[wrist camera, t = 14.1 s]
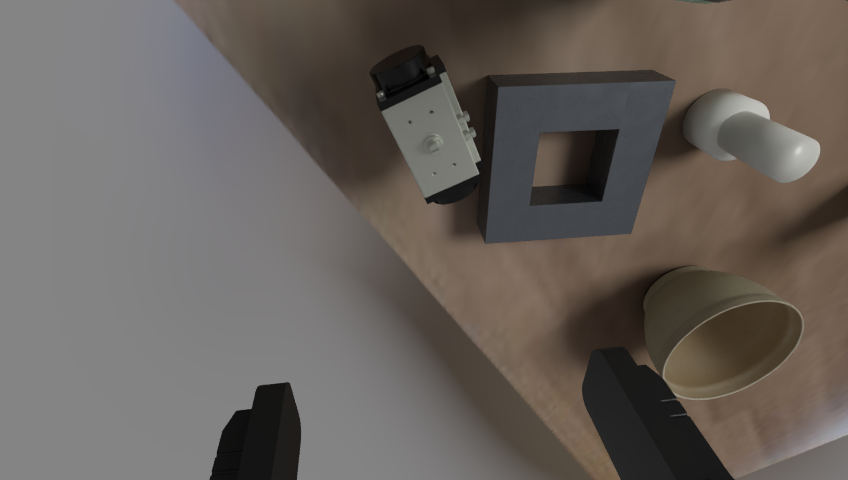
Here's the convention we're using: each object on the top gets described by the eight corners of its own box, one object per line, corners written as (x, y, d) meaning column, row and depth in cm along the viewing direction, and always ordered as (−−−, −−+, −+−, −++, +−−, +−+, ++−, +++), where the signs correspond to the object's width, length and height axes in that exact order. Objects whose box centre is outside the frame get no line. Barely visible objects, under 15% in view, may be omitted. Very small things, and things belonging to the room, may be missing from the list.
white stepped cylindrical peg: (693, 89, 45) (777, 127, 35) (750, 87, 45) (846, 124, 36) (674, 146, 48) (747, 195, 39) (727, 144, 48) (811, 191, 39)
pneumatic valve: (420, 163, 46) (436, 225, 36) (366, 51, 39) (367, 89, 29) (470, 140, 45) (501, 197, 35) (423, 22, 39) (445, 51, 29)
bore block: (487, 75, 42) (498, 87, 38) (652, 70, 43) (676, 80, 40) (477, 223, 50) (485, 243, 47) (613, 215, 52) (631, 233, 49)
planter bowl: (615, 347, 65) (656, 413, 56) (620, 259, 56) (670, 321, 47) (726, 322, 65) (785, 384, 56) (749, 230, 56) (824, 286, 47)
